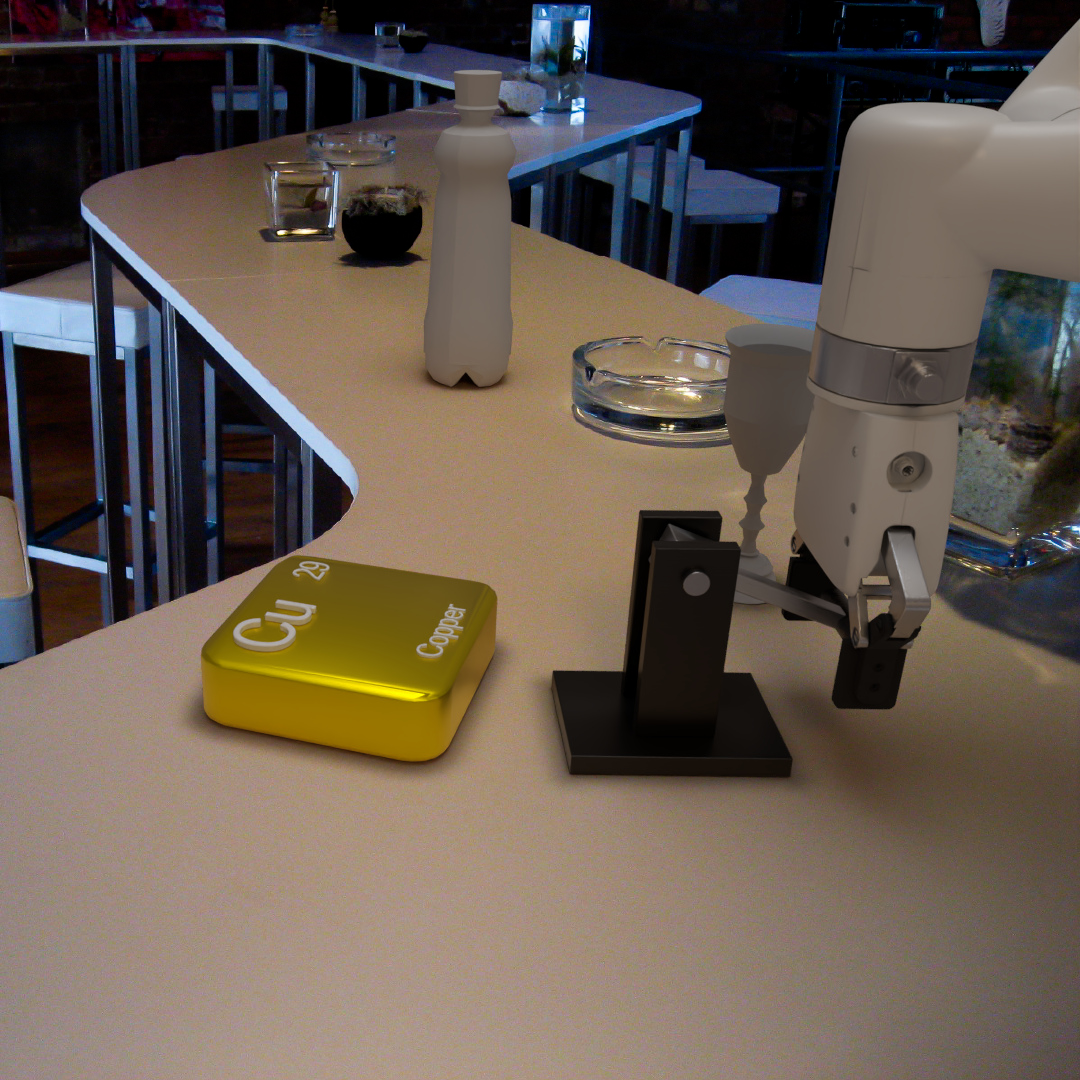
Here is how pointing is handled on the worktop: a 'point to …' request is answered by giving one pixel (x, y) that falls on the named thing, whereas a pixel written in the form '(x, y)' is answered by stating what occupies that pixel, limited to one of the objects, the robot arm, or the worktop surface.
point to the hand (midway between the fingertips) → (833, 659)
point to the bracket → (673, 671)
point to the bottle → (471, 241)
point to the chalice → (765, 417)
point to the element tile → (352, 657)
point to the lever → (783, 592)
